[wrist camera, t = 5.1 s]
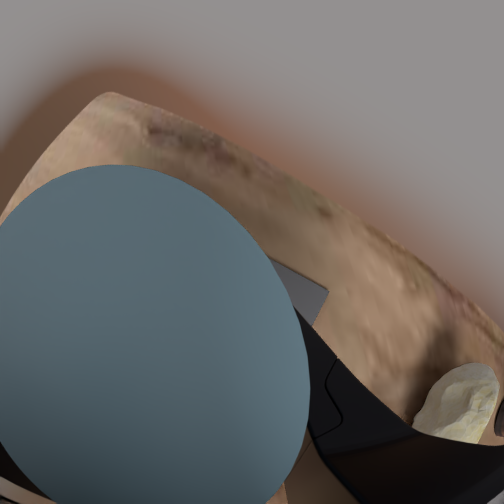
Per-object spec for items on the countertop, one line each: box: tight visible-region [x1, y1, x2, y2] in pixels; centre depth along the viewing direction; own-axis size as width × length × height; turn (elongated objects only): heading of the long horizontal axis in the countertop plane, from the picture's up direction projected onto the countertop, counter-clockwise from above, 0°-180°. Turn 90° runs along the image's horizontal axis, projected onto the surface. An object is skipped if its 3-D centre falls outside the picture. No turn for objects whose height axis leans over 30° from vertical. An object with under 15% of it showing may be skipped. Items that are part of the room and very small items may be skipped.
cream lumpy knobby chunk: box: [412, 363, 500, 444], centre depth 16 cm, size 15×7×15 cm
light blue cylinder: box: [0, 165, 310, 504], centre depth 8 cm, size 4×4×13 cm
